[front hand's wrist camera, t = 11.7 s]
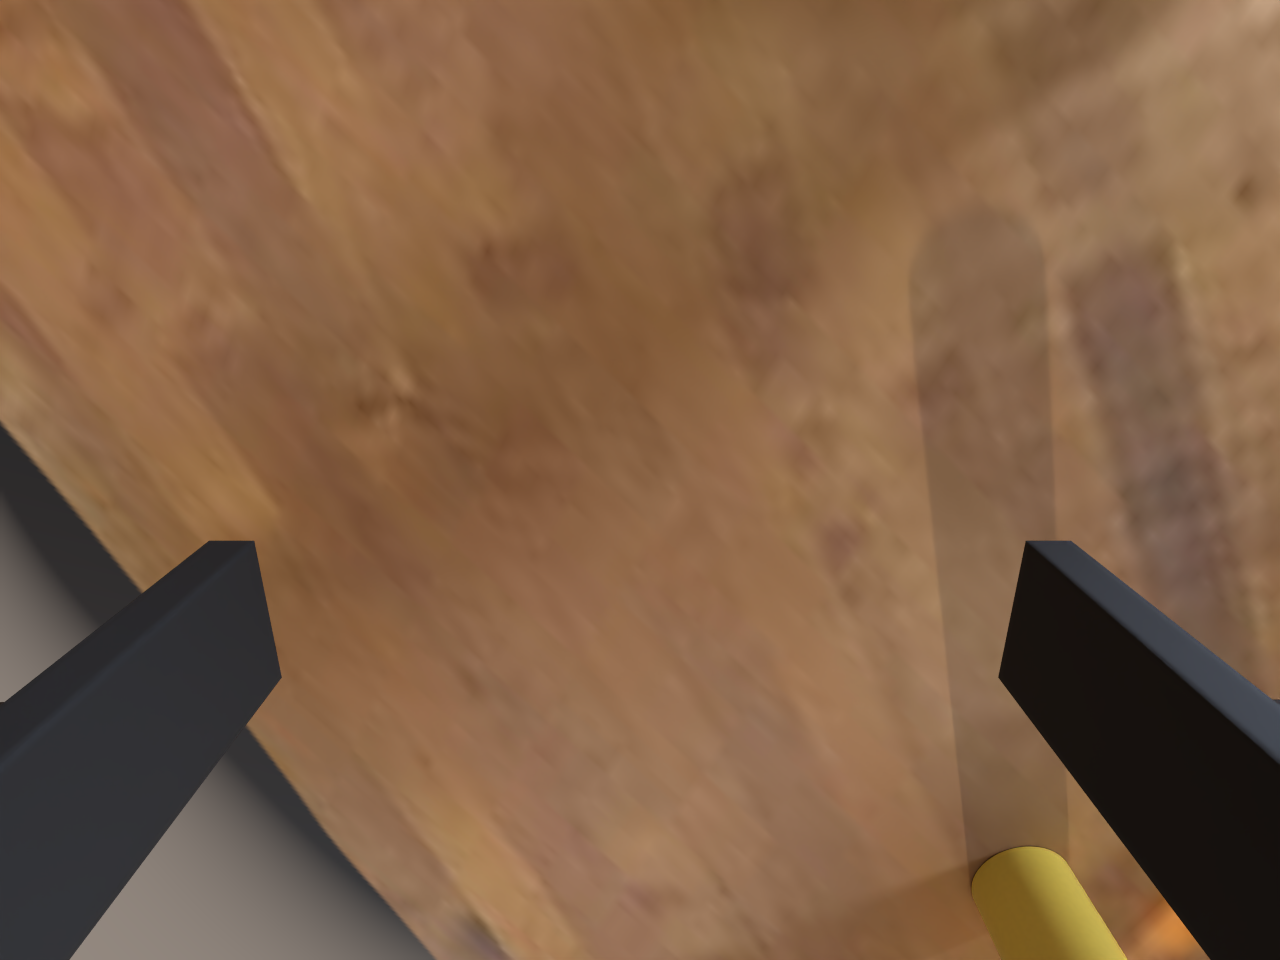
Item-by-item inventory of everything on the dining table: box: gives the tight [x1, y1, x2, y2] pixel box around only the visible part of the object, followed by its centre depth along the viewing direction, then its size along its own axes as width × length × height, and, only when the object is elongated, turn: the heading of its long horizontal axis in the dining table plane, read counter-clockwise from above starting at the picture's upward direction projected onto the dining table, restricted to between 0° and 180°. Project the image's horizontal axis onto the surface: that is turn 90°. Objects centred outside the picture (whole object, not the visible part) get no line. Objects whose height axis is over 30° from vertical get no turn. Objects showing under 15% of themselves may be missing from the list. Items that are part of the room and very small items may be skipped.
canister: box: [971, 846, 1128, 960], centre depth 44 cm, size 6×6×10 cm
